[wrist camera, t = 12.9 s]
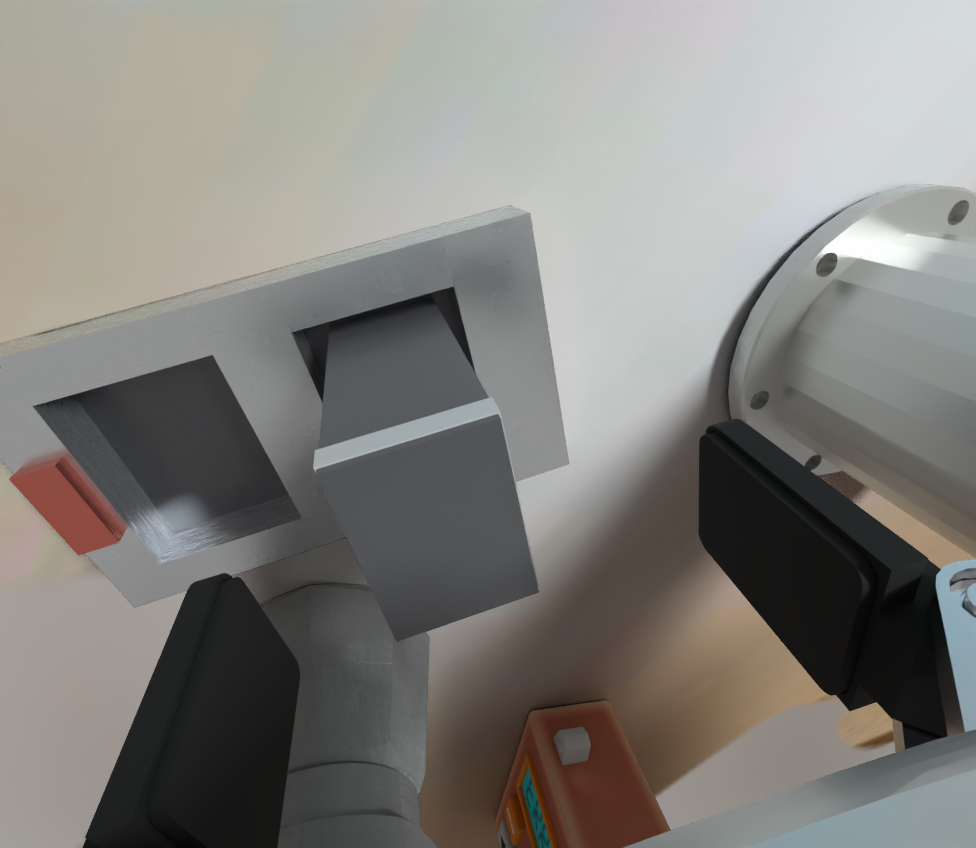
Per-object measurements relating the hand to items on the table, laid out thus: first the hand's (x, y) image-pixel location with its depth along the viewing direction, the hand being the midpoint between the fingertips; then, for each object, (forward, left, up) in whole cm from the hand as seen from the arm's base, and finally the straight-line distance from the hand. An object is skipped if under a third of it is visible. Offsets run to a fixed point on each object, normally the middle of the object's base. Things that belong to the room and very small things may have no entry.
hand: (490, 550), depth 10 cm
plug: (+1, +1, -9) cm, 9 cm away
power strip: (+2, +3, -9) cm, 10 cm away
